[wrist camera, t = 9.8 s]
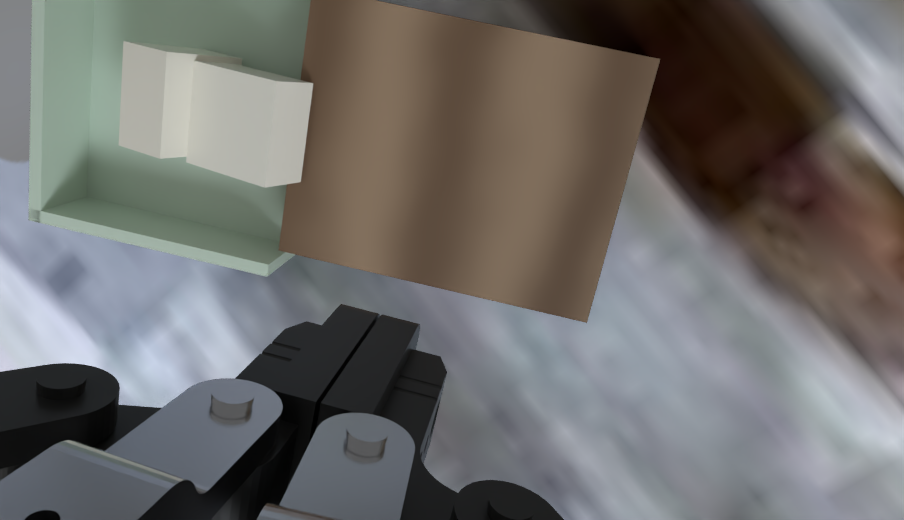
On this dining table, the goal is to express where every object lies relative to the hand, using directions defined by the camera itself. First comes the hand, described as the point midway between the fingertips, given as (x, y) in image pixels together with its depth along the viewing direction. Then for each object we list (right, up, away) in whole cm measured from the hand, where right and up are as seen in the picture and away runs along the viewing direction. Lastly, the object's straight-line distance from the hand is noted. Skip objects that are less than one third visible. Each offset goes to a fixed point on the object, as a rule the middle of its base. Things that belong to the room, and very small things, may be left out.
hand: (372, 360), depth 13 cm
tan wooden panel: (+2, +7, +21) cm, 22 cm away
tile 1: (-7, +8, +19) cm, 22 cm away
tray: (-11, +10, +22) cm, 27 cm away
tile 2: (-10, +9, +18) cm, 23 cm away
